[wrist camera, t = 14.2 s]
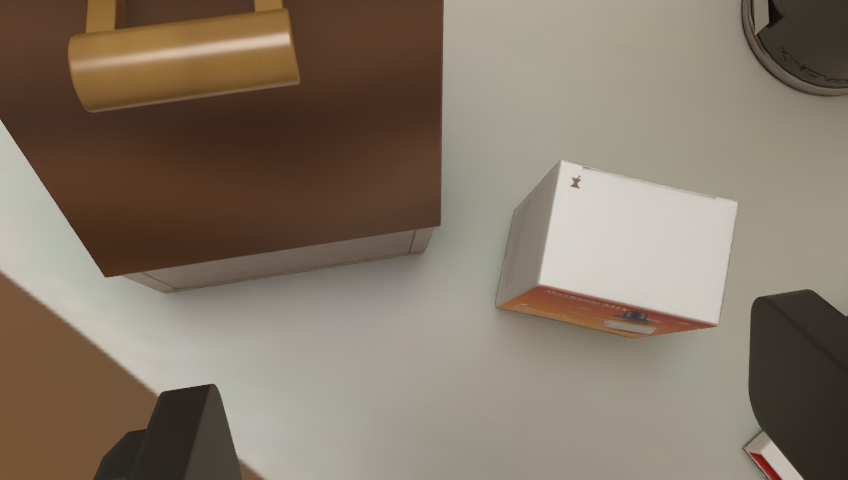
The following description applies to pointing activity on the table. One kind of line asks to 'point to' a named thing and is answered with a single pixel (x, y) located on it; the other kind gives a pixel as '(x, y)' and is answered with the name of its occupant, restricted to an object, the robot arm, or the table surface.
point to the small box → (618, 253)
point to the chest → (284, 261)
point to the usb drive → (771, 459)
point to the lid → (226, 121)
